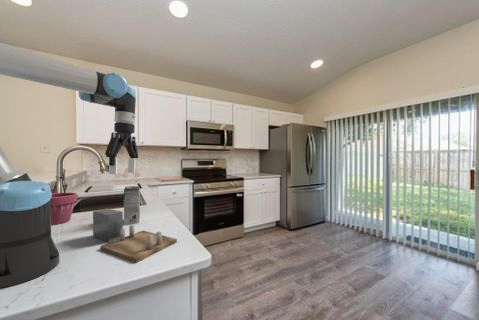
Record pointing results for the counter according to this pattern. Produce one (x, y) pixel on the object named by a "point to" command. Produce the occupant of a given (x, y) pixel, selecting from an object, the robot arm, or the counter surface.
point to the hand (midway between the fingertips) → (122, 173)
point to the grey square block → (107, 224)
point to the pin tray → (138, 244)
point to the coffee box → (131, 204)
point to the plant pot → (62, 207)
